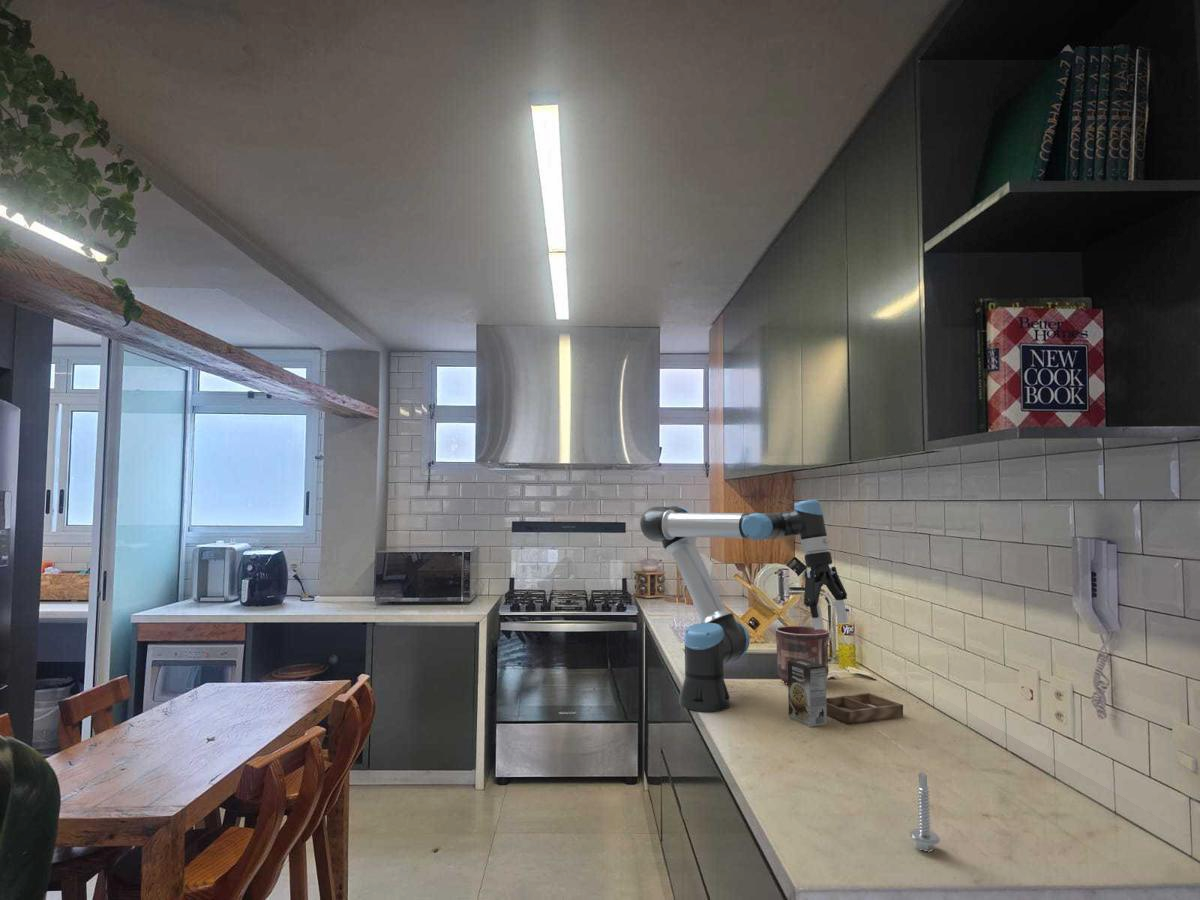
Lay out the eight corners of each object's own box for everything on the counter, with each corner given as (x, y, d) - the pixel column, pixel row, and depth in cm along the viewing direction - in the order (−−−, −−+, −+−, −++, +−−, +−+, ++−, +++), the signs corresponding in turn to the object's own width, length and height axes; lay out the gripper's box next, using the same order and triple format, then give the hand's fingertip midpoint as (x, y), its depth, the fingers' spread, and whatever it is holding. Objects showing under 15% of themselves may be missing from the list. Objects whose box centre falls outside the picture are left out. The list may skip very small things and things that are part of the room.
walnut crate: (847, 725, 188) (847, 712, 188) (814, 711, 200) (814, 699, 200) (903, 717, 195) (902, 704, 195) (868, 704, 207) (868, 692, 208)
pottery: (834, 692, 221) (833, 635, 223) (778, 689, 224) (778, 633, 226) (825, 679, 239) (824, 626, 240) (773, 676, 241) (773, 624, 243)
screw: (938, 858, 117) (907, 850, 119) (942, 846, 121) (912, 839, 123) (935, 779, 118) (905, 773, 120) (939, 770, 122) (910, 764, 124)
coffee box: (787, 718, 194) (786, 660, 195) (805, 715, 196) (804, 658, 198) (810, 727, 185) (808, 667, 187) (828, 724, 188) (826, 664, 189)
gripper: (805, 553, 190) (820, 631, 186) (849, 547, 207) (864, 619, 203) (782, 557, 196) (796, 632, 192) (827, 551, 213) (841, 620, 208)
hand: (831, 626), depth 197 cm, fingers open, 13 cm apart
